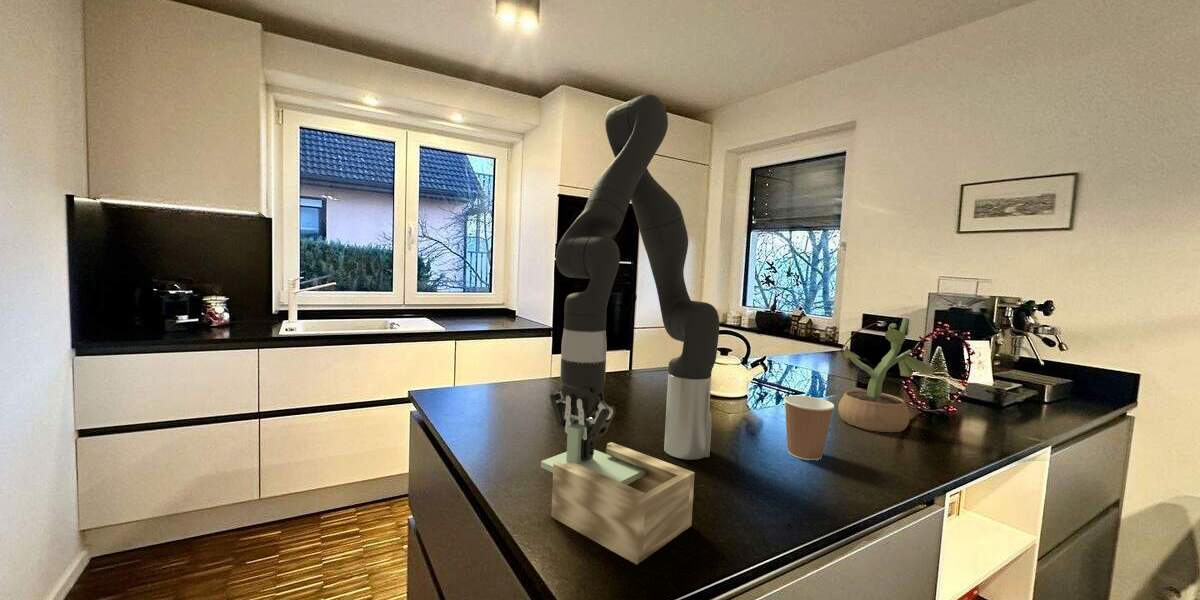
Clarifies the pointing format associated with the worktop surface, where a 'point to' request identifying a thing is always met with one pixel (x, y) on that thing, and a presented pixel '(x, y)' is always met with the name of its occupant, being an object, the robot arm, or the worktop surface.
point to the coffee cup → (807, 426)
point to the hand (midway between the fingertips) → (579, 456)
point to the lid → (594, 460)
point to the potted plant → (872, 404)
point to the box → (625, 504)
